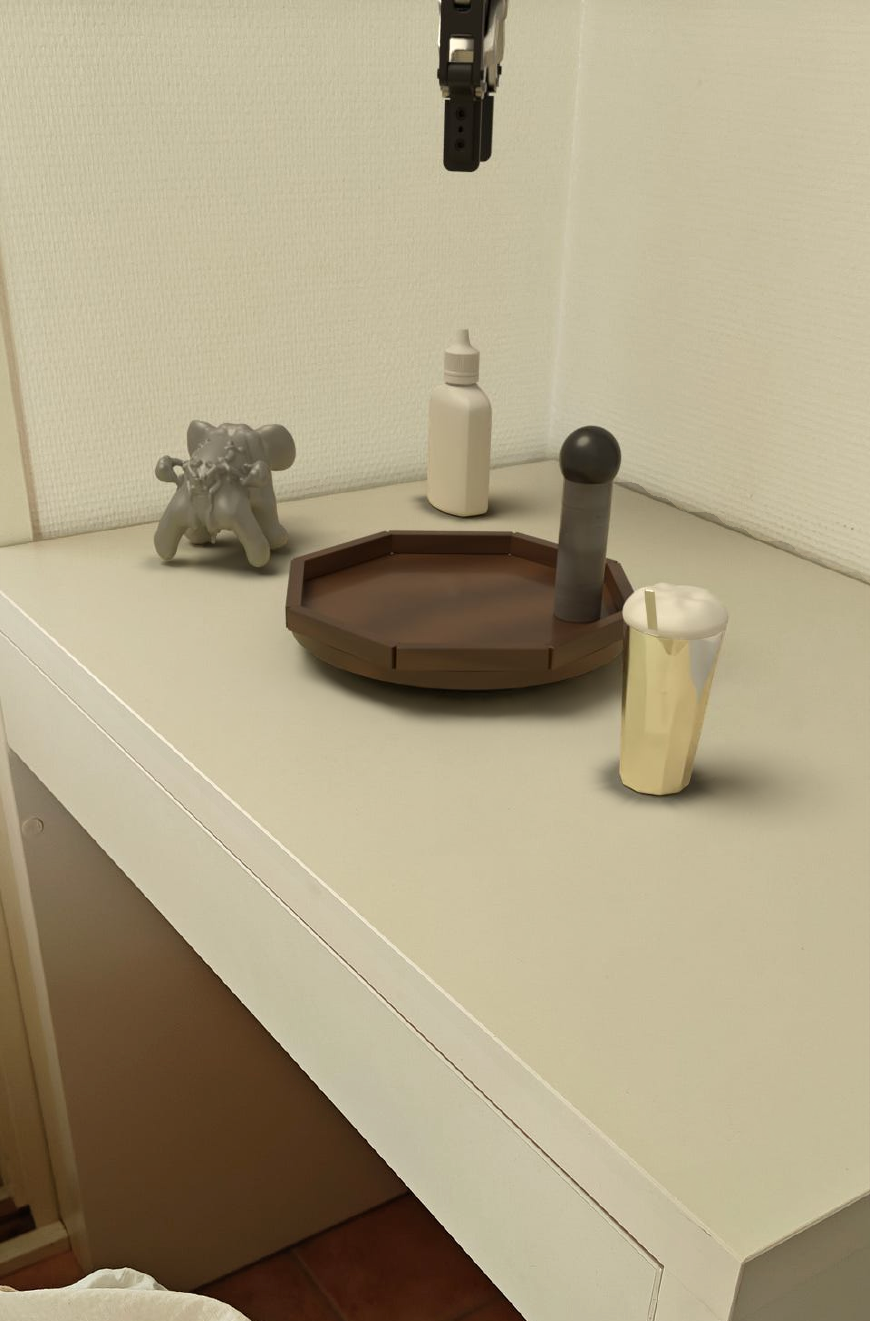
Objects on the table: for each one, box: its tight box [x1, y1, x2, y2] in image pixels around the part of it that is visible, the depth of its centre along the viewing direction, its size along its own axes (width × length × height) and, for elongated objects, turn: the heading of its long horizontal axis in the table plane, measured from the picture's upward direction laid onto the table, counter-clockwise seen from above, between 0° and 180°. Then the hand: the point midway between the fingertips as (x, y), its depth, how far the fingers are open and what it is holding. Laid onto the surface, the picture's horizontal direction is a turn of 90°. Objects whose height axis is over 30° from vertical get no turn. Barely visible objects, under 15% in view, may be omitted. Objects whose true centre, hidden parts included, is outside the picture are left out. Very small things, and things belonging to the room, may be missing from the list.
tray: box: [284, 425, 635, 690], centre depth 73 cm, size 19×19×11 cm
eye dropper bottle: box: [426, 327, 493, 517], centre depth 96 cm, size 4×6×12 cm
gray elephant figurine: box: [153, 419, 297, 568], centre depth 89 cm, size 9×12×8 cm
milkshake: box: [618, 582, 729, 796], centre depth 61 cm, size 4×5×10 cm
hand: (468, 166), depth 87 cm, fingers open, 8 cm apart
